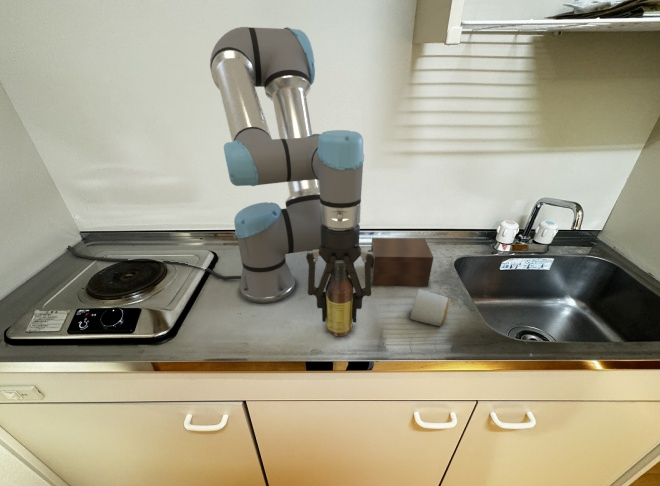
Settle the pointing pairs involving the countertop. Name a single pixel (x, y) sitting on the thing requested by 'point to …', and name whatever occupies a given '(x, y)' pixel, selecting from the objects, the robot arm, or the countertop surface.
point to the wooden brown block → (401, 262)
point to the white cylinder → (430, 308)
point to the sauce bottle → (339, 300)
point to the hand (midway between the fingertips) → (339, 318)
